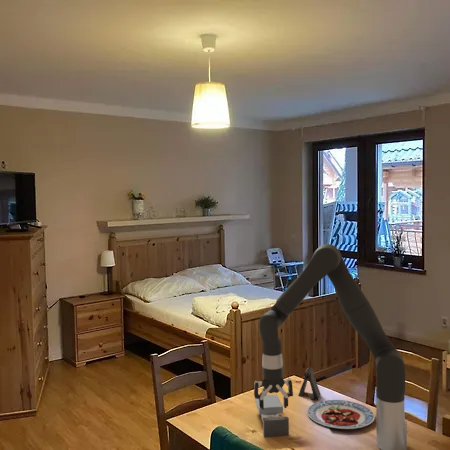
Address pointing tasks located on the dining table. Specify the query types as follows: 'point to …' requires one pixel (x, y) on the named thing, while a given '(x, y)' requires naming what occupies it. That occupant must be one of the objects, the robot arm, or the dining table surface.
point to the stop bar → (275, 426)
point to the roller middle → (269, 415)
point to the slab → (270, 405)
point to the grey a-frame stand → (314, 386)
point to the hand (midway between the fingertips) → (273, 408)
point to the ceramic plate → (341, 414)
